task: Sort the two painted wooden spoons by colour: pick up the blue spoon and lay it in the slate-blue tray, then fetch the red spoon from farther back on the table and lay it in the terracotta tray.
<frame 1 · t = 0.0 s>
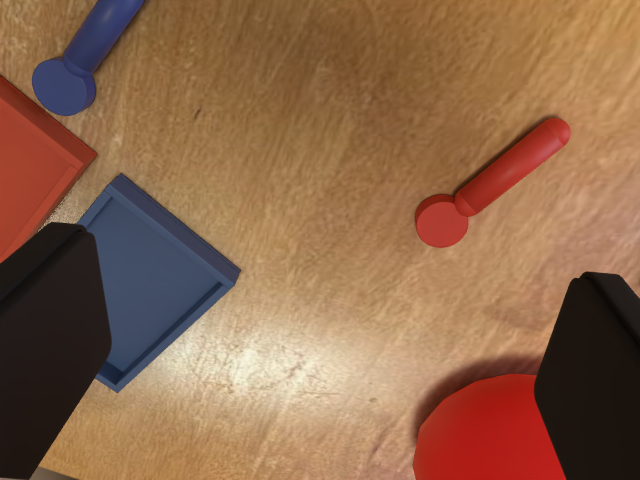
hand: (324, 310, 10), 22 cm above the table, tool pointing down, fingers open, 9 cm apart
red spoon: (485, 180, 32), on the table
blue spoon: (101, 38, 29), on the table
teapot: (514, 419, 41), on the table
blue tray: (124, 286, 38), on the table
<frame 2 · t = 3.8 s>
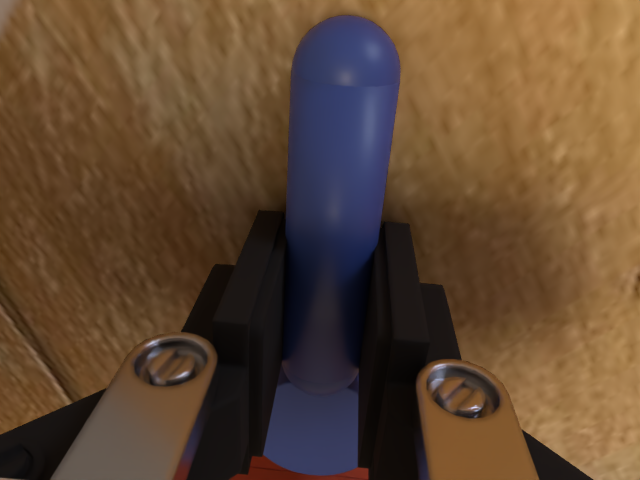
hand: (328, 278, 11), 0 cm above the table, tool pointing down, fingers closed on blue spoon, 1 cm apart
blue spoon: (328, 275, 11), on the table, touching gripper
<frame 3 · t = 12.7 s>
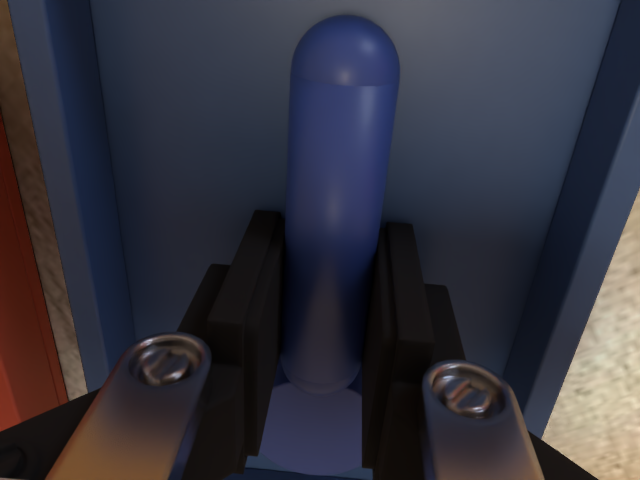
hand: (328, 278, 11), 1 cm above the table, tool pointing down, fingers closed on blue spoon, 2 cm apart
blue spoon: (328, 275, 11), on the table, touching gripper
blue tray: (325, 264, 12), on the table
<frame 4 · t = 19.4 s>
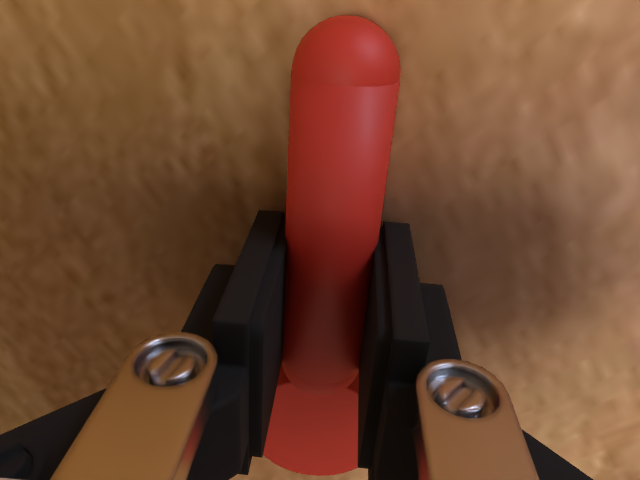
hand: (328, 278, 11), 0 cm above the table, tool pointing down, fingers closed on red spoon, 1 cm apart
red spoon: (328, 275, 11), on the table, touching gripper
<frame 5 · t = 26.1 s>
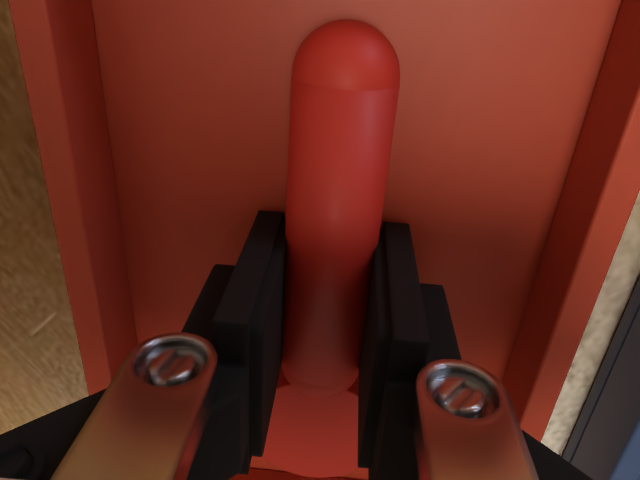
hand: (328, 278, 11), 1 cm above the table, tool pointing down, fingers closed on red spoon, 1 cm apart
red tray: (326, 263, 12), on the table
red spoon: (328, 277, 11), resting on red tray, touching gripper
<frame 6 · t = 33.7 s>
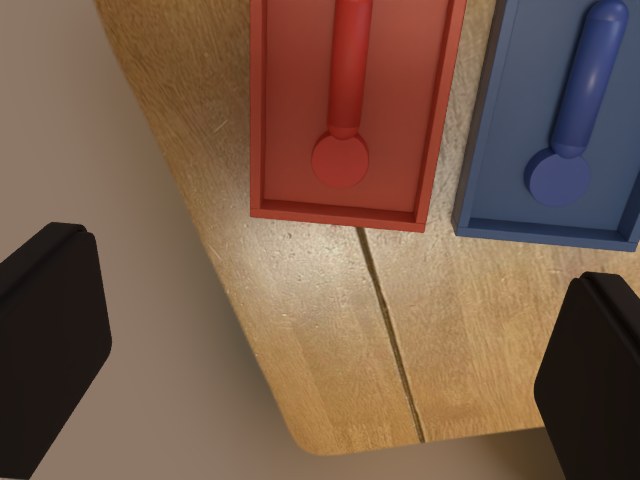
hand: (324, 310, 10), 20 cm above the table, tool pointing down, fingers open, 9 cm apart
red tray: (348, 90, 28), on the table
red spoon: (346, 91, 28), resting on red tray
blue spoon: (571, 109, 27), resting on blue tray
blue tray: (570, 108, 28), on the table
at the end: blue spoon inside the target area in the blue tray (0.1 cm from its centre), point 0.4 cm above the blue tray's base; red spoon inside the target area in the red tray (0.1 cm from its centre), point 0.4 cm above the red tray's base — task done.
